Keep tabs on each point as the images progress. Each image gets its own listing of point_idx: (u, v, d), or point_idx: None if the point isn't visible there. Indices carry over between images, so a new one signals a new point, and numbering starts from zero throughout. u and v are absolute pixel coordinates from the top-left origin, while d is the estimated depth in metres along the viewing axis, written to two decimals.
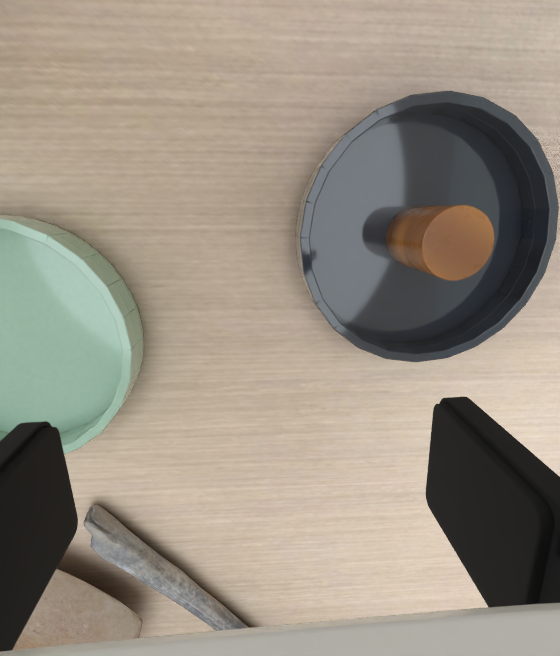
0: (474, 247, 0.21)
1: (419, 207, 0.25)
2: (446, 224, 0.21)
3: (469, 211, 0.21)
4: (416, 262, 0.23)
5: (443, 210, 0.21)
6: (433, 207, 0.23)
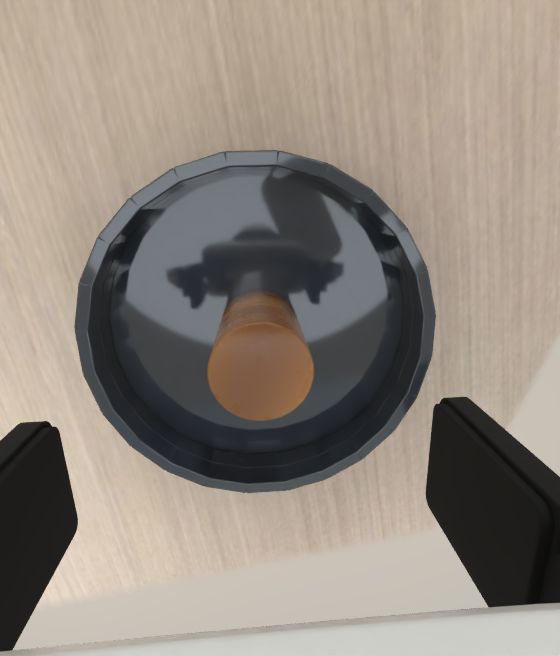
0: (261, 396, 0.15)
1: None
2: (284, 349, 0.15)
3: (306, 374, 0.15)
4: (224, 327, 0.16)
5: (302, 339, 0.15)
6: (301, 331, 0.17)
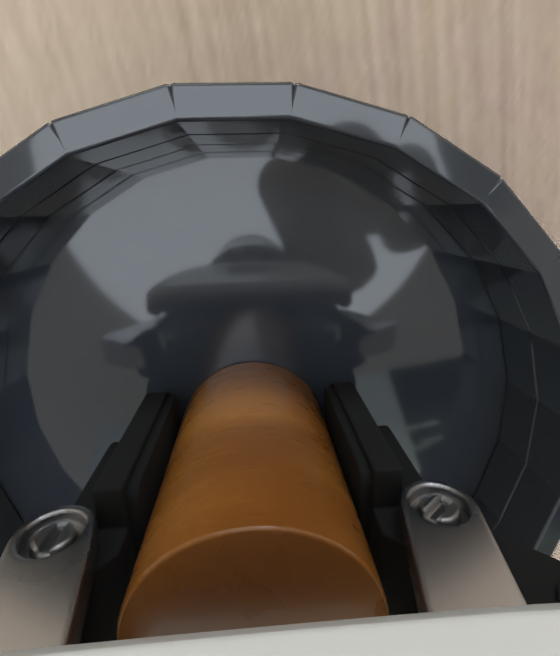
0: None
1: (326, 428, 0.10)
2: (316, 586, 0.06)
3: None
4: (168, 498, 0.07)
5: (362, 558, 0.06)
6: (345, 484, 0.08)
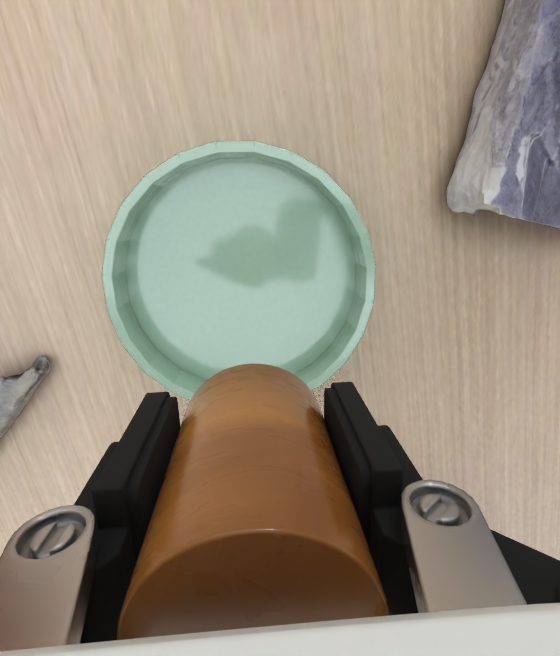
0: None
1: (326, 429, 0.10)
2: (316, 588, 0.06)
3: None
4: (169, 500, 0.07)
5: (362, 560, 0.06)
6: (345, 485, 0.08)
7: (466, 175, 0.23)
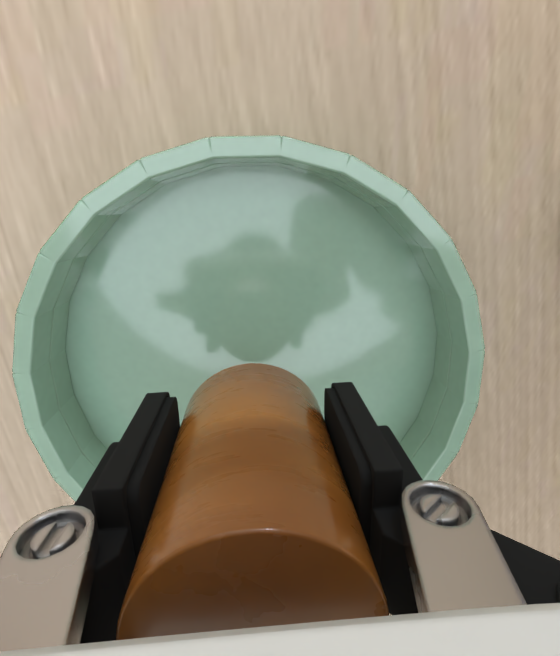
0: None
1: (326, 429, 0.10)
2: (316, 589, 0.06)
3: None
4: (168, 499, 0.07)
5: (362, 560, 0.06)
6: (345, 485, 0.08)
7: None
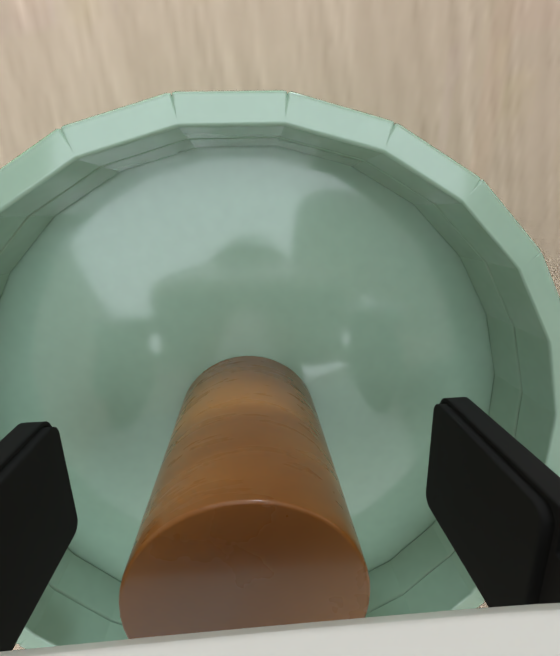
0: None
1: (316, 418, 0.10)
2: (302, 556, 0.06)
3: (353, 602, 0.06)
4: (166, 478, 0.07)
5: (344, 530, 0.06)
6: (332, 467, 0.08)
7: None
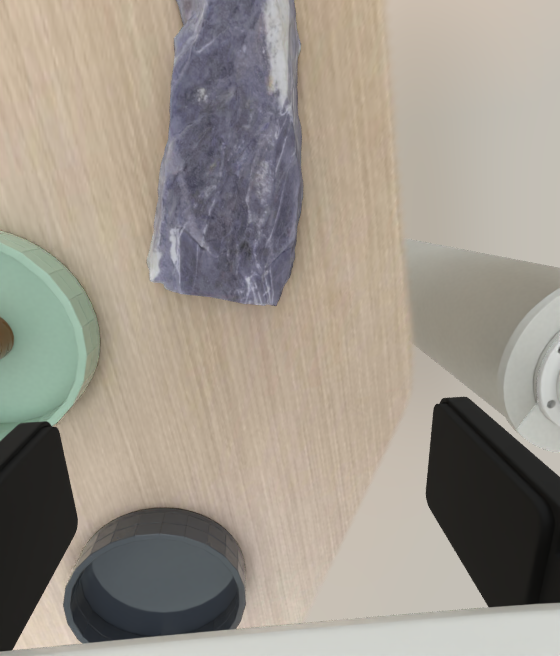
0: None
1: None
2: None
3: None
4: None
5: None
6: None
7: (149, 253, 0.27)
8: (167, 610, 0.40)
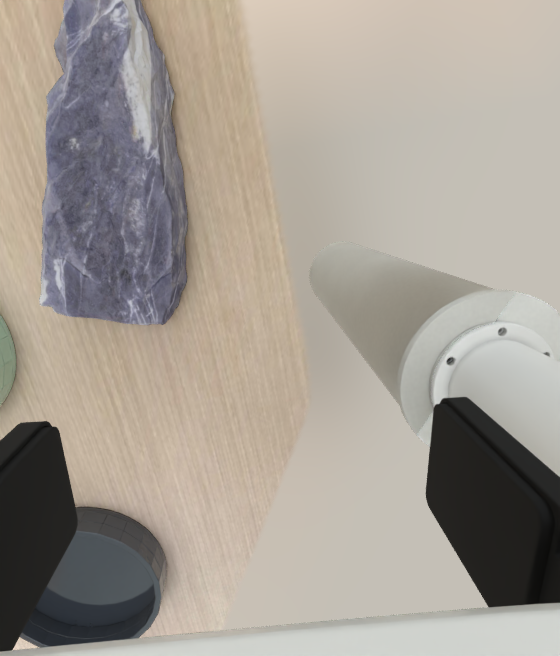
0: None
1: None
2: None
3: None
4: None
5: None
6: None
7: None
8: (95, 602, 0.43)
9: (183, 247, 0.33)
